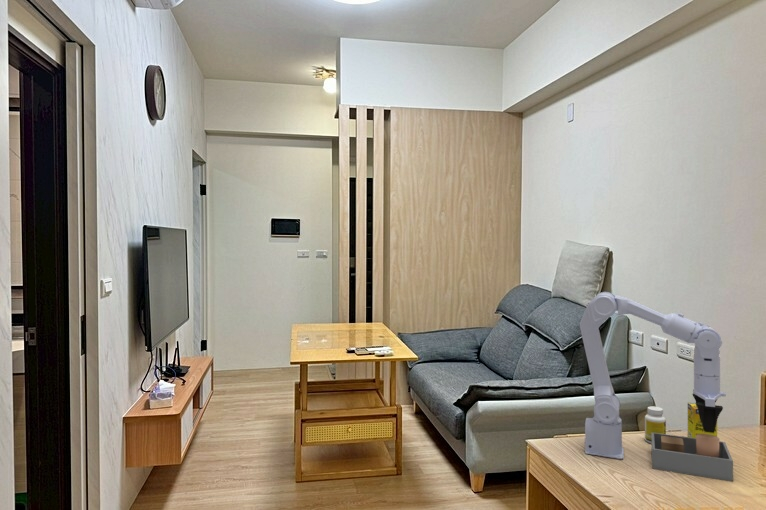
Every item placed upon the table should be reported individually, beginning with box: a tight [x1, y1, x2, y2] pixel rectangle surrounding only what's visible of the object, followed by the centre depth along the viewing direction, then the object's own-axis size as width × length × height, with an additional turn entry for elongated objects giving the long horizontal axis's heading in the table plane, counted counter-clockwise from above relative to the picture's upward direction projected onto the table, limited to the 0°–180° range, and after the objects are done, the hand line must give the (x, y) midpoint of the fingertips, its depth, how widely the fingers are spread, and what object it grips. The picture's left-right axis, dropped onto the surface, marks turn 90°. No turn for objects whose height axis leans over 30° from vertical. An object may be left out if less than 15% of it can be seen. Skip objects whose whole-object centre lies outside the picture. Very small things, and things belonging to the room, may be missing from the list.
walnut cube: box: [661, 436, 684, 453], centre depth 135 cm, size 5×5×5 cm
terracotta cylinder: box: [696, 434, 720, 458], centre depth 132 cm, size 5×5×7 cm
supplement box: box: [687, 402, 718, 438], centre depth 148 cm, size 6×6×11 cm
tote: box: [651, 432, 734, 482], centre depth 134 cm, size 17×13×5 cm
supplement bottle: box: [644, 405, 667, 445], centre depth 149 cm, size 5×5×10 cm
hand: (707, 427), depth 132 cm, fingers open, 7 cm apart
